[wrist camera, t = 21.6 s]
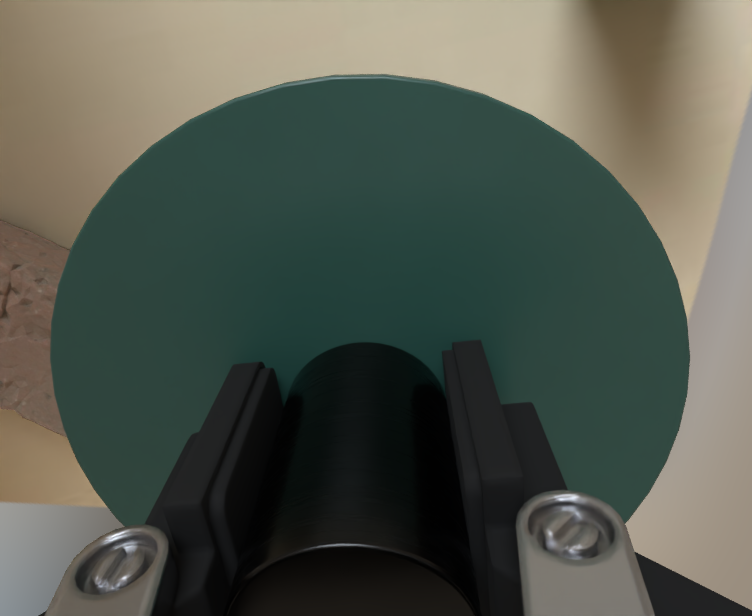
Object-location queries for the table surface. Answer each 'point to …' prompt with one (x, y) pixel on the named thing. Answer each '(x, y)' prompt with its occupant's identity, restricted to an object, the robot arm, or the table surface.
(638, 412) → the pot lid
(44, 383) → the brick
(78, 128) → the table surface
